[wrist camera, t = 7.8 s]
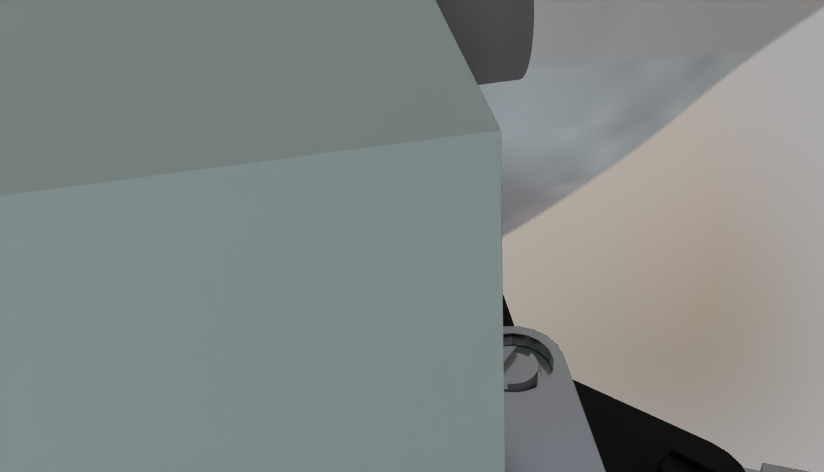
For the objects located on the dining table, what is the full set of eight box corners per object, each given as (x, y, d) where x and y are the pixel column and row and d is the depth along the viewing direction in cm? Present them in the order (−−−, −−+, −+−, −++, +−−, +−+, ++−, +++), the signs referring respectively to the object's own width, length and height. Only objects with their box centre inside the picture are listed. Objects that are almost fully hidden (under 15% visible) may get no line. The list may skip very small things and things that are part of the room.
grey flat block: (189, -179, 11) (-744, 294, 1) (411, -203, 11) (1051, 53, 1) (325, 406, 19) (338, 1085, 9) (453, 387, 19) (597, 1035, 10)
